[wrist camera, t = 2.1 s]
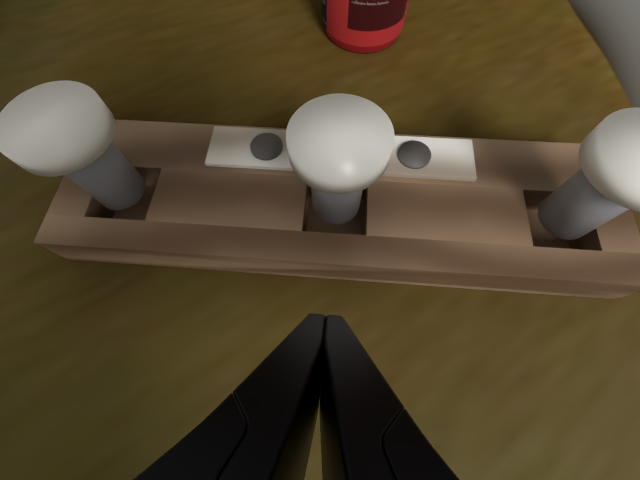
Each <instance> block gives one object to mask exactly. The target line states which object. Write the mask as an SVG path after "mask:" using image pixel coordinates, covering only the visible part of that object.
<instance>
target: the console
mask: <svg viewBox="0 0 640 480" xmlns="http://www.w3.org/2000/svg"><path fill="white" fill-rule="evenodd" d="M115 123H116V129H115V134H114V137H113V139H112V143H113V144H114V145H115V146H116V147H117V149H118V150H119V151H120V152H121V153H122V154H123V155H124V157H125V158H126V159H127V160H128V161H129V162H130V163H131V165H132V166H133V167H134V168H135V169H136V170H137V171H138V172H139V174H140V175H141V176H142V177H143V179H144V181H145V185H146V187H145V192H144V194H143V196H142V197H141V199H140V200H139V201H138V202H137V203H136V204H134V205H133V206H131V207H129V208H126V209H123V210H111V209H108V208H106V207H104V206H103V205H102V204H101V203H99V202H98V201H97V200H96V199H94V198H93V197H92V196H91V195H90V194H88V193H87V192H86V191H85V190H83V189H82V188H81V187H80V186H78V185H77V184H76V183H75V182H73V181H72V180H71V179H70V178H69V177H67V176H66V175H64V176H63V179H62V181H61V183H60V185H59V187H58V190H57V192H56V194H55V196H54V198H53V201H52V203H51V205H50V207H49V209H48V211H47V214H46V216H45V218H44V220H43V222H42V225H41V227H40V229H39V231H38V233H37V236H36V238H35V240H34V242H33V243H35V244H37V245H39V246H41V247H43V248H45V249H47V250H49V251H51V252H53V253H55V254H57V255H59V256H61V257H63V258H65V259H68V260H82V261H95V262H109V263H123V264H137V265H151V266H164V267H178V268H192V269H206V270H219V271H233V272H247V273H261V274H275V275H288V276H302V277H316V278H330V279H344V280H357V281H371V282H385V283H399V284H413V285H426V286H440V287H454V288H468V289H481V290H495V291H509V292H523V293H537V294H550V295H564V296H578V297H592V298H606V299H617V298H621V297H624V296H627V295H631V294H634V293H637V292H640V234H639V231H638V228H637V225H636V221H635V218H634V215H633V212H632V210H630V209H629V210H627V211H625V212H623V213H622V214H620V215H618V216H616V217H615V218H613V219H611V220H610V221H608V222H606V223H604V224H603V225H601V226H599V227H598V228H596V229H594V230H592V231H591V232H589V233H587V234H586V235H584V236H582V237H580V238H578V239H574V240H566V239H561V238H558V237H556V236H554V235H552V234H551V233H549V232H548V231H547V230H546V229H545V228H544V227H543V226H542V224H541V223H540V220H539V218H538V207H539V205H540V203H541V202H542V201H543V200H544V199H546V198H547V197H548V196H549V195H550V194H551V193H553V192H554V191H555V190H556V189H557V188H559V187H560V186H561V185H562V184H563V183H564V182H566V181H567V180H568V179H569V178H570V177H571V176H573V175H574V174H575V173H576V172H577V171H579V170H580V169H581V166H580V162H579V148H580V145H581V144H575V143H555V142H536V141H517V140H498V139H479V138H460V137H441V136H422V135H402V134H394V135H395V140H394V146H393V150H392V153H391V157H390V160H389V164H388V166H387V169H386V171H385V172H384V174H383V175H382V176H381V177H380V179H379V180H378V181H376V182H375V183H374V184H373V185H371V186H370V187H368V188H366V189H364V190H363V191H362V196H361V202H360V207H359V211H358V213H357V214H356V216H355V217H354V218H353V219H352V220H350V221H349V222H347V223H344V224H338V225H334V224H329V223H326V222H324V221H322V220H321V219H320V218H318V217H317V215H316V214H315V212H314V210H313V205H312V192H311V187H310V186H308V185H307V184H305V183H304V182H303V181H302V180H300V179H299V177H298V176H297V175H296V174H295V172H294V171H293V169H292V167H291V165H290V161H289V156H288V150H287V144H286V129H287V128H269V127H249V126H230V125H211V124H192V123H173V122H154V121H135V120H116V119H115Z"/></svg>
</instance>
